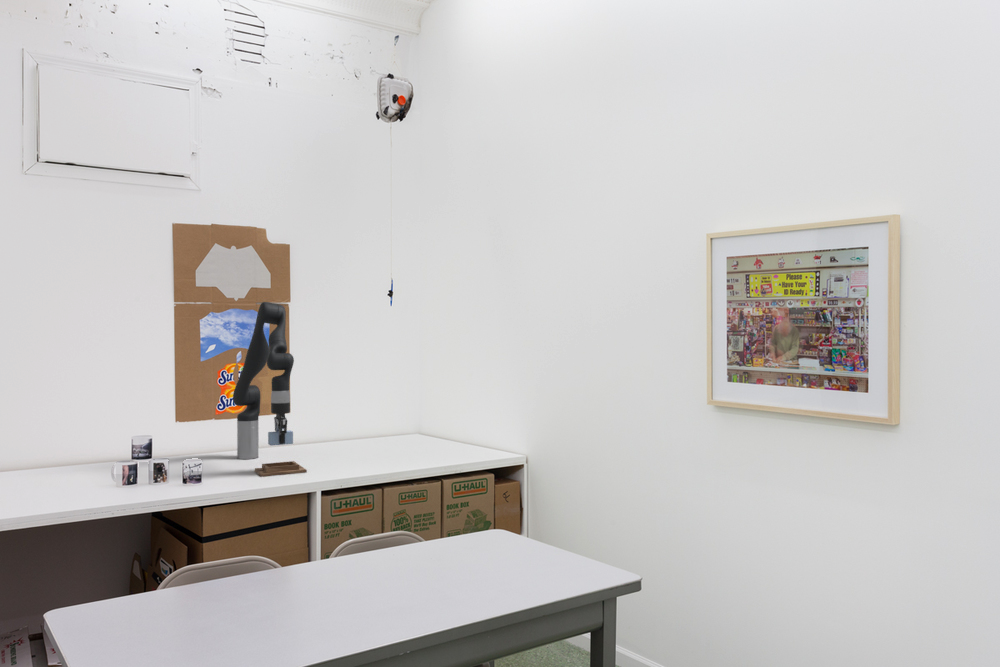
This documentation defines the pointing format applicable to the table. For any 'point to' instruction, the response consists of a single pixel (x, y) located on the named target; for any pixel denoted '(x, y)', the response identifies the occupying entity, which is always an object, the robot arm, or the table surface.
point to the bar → (274, 438)
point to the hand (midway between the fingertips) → (280, 442)
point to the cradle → (280, 469)
